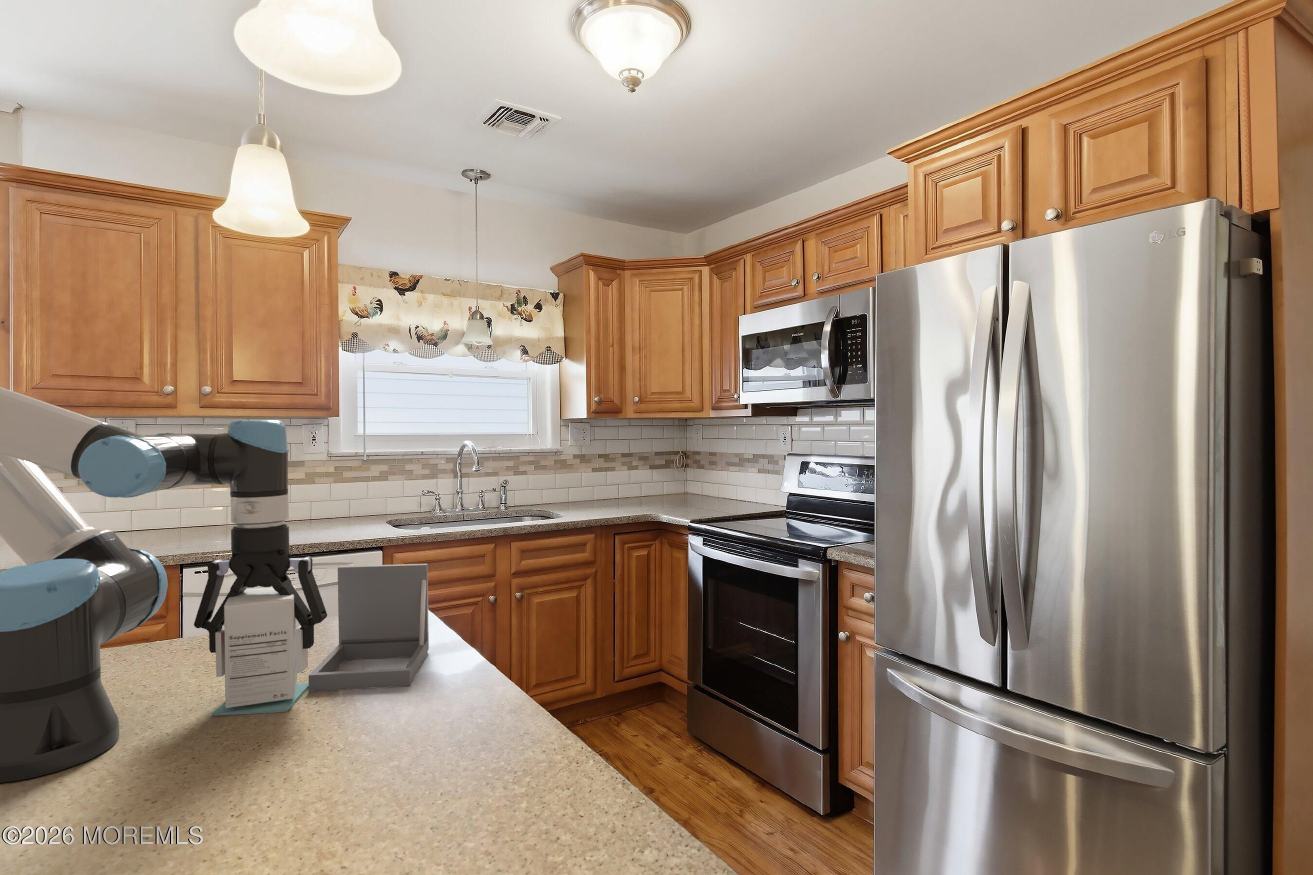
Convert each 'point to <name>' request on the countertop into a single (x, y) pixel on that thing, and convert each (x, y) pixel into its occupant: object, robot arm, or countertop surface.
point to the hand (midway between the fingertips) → (263, 671)
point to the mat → (263, 705)
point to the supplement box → (259, 647)
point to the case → (378, 626)
